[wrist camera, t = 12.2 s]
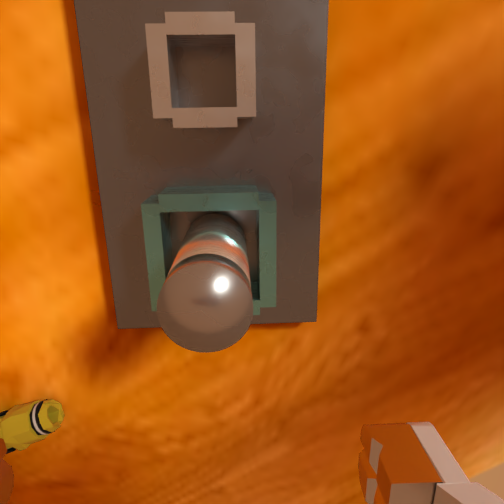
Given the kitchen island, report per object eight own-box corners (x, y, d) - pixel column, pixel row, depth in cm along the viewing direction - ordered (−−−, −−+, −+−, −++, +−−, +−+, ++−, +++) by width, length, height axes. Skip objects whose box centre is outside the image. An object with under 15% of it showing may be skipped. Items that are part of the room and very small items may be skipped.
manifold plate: (324, -32, 23) (345, -70, 18) (312, 312, 29) (325, 343, 25) (78, -32, 22) (41, -70, 18) (123, 318, 29) (104, 352, 24)
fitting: (245, 212, 25) (252, 263, 16) (246, 270, 26) (254, 350, 17) (183, 214, 25) (152, 266, 15) (187, 272, 26) (161, 354, 17)
